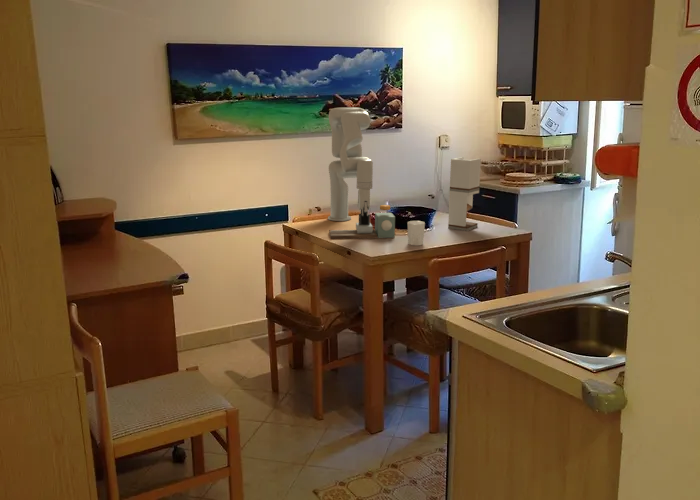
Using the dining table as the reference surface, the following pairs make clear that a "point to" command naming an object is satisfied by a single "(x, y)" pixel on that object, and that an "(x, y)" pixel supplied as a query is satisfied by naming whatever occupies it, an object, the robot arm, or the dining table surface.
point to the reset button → (384, 207)
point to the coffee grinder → (463, 191)
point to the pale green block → (385, 225)
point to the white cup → (416, 232)
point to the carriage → (364, 226)
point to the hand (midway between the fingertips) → (364, 222)
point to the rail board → (350, 234)
